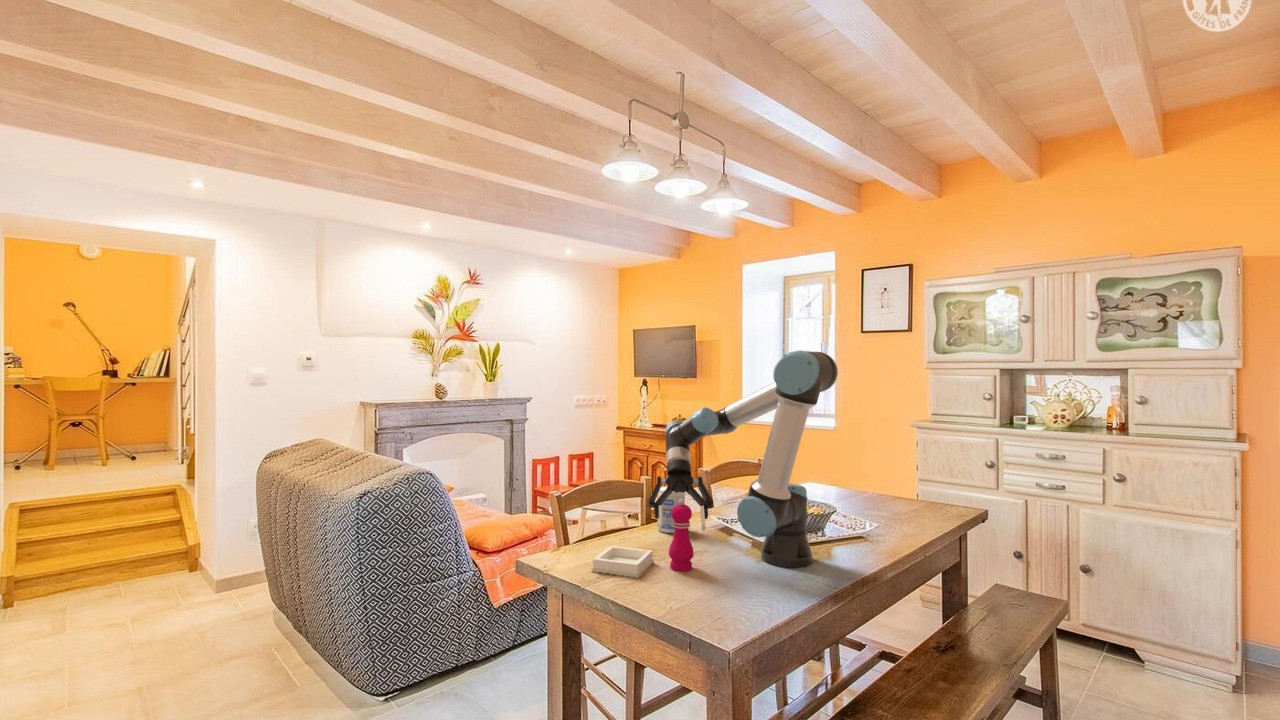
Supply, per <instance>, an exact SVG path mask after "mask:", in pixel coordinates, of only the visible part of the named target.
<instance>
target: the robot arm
mask: <svg viewBox="0 0 1280 720" xmlns="http://www.w3.org/2000/svg"><path fill="white" fill-rule="evenodd" d="M838 374H839V372H838V366H837V363H836V361H835V360H834V359H833V357H831V356H830V355H828V354H827V353H825V352H822V351H809V350H795V351H790V352H787V353H785V354H783V355H782V356H781V357H780V358H779V359H778V360H777V361H776V363H775V365H774V367H773V374H772V375H773V381H774V382H772V383H770V384H768V385H766V386H764V387H762V388H760V389H758V390H756V391H754V392H752V393H750V394H748V395H746V396H744V397H743V398H740V399H738V400H737V401H735V402H733V403H731V404H729V405H727V406H725V407H723V408H721V409H719V410H715V411H714V410H713V409H712V408H709V407H706V406H705V407H701V408H700V409H699V410H696V411H694V413H692V414H691V415H690V416H688V417H687V418H686V419H685V420H674V421H670V422H668V423H667V425H666V426H665V435H664V440H665V451H666V453H665V458H666V477H665V478H663V477H662V476H660V475H659V476H657V478H656V484H655V486H654V488H653V490H652V493H651V495H650V497H649V500H648V508H651V509H654V518H655V519H659V530H662V511H661V505H662V504H663V502H664V501H665V500H666V499H667V497H668V496H669V495H670V494H671V493H672V492H673V491H674V492H675V493H677V492H682V493H685V494H686V493H687V495H689V496H690V497H692V499H693V500H694V501H695V502H696V503H697V504H698V506H699V507H700V523H701V531H705V530H706V520H707V519H708V518H709V509H712V508H713V507H714V500H713V498H712V497H711V495H710V493H709V492H708V489H707V488H706V486H705V485H704V483H703V481H704V480H703V477H702V476H698V478H693V476H692V467H691V466H692V465H691V463H692V462H691V449H690V446H692V445H693V444H695V443H697V442H698V441H699V440H701V439H702V438H704V437H709V436H716V435H717V436H718V435H725V434H730V433H733V432H735V431H736V429H737V428H739V427H740V426H742V425H744V424H745V425H746V423H749V422H751V421H753V420H755V419H758V418H759V417H761V416H763V415H766V414H768V413H770V412H772V411H774V410H775V413H774V416H773V419H772V424H771V428H770V432H769V436H768V439H767V442H766V443H767V444H766V447H765V451H764V454H763V458H762V461H761V466H760V470H759V473H758V477H757V478H756V479H755V480H753V481H751V483H750V484H749V485H750V486H749V489H748V493H747V496H745V497H744V498H742V500H741V501H739V503H738V505H737V509H736V511H737V512H736V515H737V520H738V522H739V523H740V526H741V527H742V529H743V530H744V531H745V532H746V533H748V534H749V535H750V536H752V537H756V538H763V537H764V541H763V544H762V546H761V550H760V551H761V552H760V553H761V556H760V557H761V560H762V561H763V562H766V563H768V564H770V565H773V566H778V567H784V568H801V567H802V568H803V567H807V566H810V565H812V564H813V552H812V549H811V546H810V543H809V540H808V537H807V535H808V534H807V529H808V528H807V526H808V524H807V523H808V522H807V518H808V517H807V514H808V513H807V512H808V496H807V495H808V493H807V488H806V487H805V486H803V485H800V484H795V483H790V480H791V476H792V472H793V469H794V465H795V461H796V459H797V454H798V451H799V448H800V444H801V440H802V436H803V435H804V434H803V433H804V430H805V426H806V423H807V419H808V414H809V412H810V409H811V408H814V407H815V406H817V404H818V401H819V397H820V394H821V393H823V392H825V391H828V390H829V389H831V388H832V386H833V387H834V384H835V383H836V381H837V379H838ZM664 484H666V485H667V486H666V487H667V489H666V490H665V491H664V492H663V493H662V495H661V496H660V497H659V498H658V493H659V491H660V488H661V487H664ZM693 484H695V486H696V487H698V488H697V489H698V491H699V492H700V493H699V492H698V491H697V490H696V489H695V488H694V486H693ZM700 494H701V495H700ZM659 530H658V531H659ZM809 564H810V565H809ZM806 565H807V566H806Z"/></svg>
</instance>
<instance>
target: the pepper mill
mask: <svg viewBox="0 0 1280 720" xmlns="http://www.w3.org/2000/svg"><path fill="white" fill-rule="evenodd" d="M684 503H686V501H684V500H683V499H680V500H679V504H678V505H676V506H674V507H673V508H672V511H671V516H672V518H673V519H674V521H673V527H674V533H673V538H672V541H671V543H670V544H669V549H668V557H669V558H670V559H671V560H670V562H669V564H670V565H669V567H670V569H671V570H672V571H674V572H678V573H679V572H680V573H682V572H683V573H684V572H690V571H691V570H692V569H693V568H692V567H693V564H692V563H693V562H692V561H691V560H692V559H693V557H694V547H693V545H692V543H691V539H690V536H689V529H690V527H691V521H690V520H691V519H692V516H693V511H692V509H691V507H690V506H688V505H686V504H685V505H684Z"/></svg>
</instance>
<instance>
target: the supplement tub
mask: <svg viewBox="0 0 1280 720" xmlns="http://www.w3.org/2000/svg"><path fill="white" fill-rule="evenodd" d="M667 487H668V486H661V488H660V491H659V493H658V495H657V499H658V498H659V497H660V496H661V495H662V493H663V492H664V491H665V490H666V489H667ZM685 495H686V492H685V493H682V492H677V493H675V492H674V491H673V492H672V493H671V494H670V495H669V496H668V497H667V499H666V500H665V501H664V502H663V504H662V505H661V511H662V530H659V519H657V523H656V524H657V530H658V531H660V532H662V533H666V534H674V527H673V521H674V519H673V518H672V516H671V511H672V508H673V507H674V506H676V505H678V504H679V500H680V499H683V500H684V501H685V498H686V496H685ZM685 503H686V501H685ZM685 503H684V505H686V504H685Z"/></svg>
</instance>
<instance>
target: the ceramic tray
mask: <svg viewBox="0 0 1280 720" xmlns="http://www.w3.org/2000/svg"><path fill="white" fill-rule="evenodd" d="M653 551H654V550H649V549H640V548H633V547H632V548H631V547H624V546H623V547H622V546H616V545H610V546H608V547H607V548H606V549H605V550H603V551H602V552H600V553H599V554H598V555H597V556H595V557H594V558H592V567H591V572H592V571H595V572H594V573H598V572H603V573H602V574H605V573H610V574H609V575H612V574H617V575H616V576H620V575H624V576H623V577H627V576H630V577H629V578H634V577H635V578H637V579H639V577H640V576H642V574H644V572H646V570H648V569H649V568H650V567H651V565H653V564H654V562H655V559H654V558H653V553H654V552H653Z"/></svg>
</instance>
